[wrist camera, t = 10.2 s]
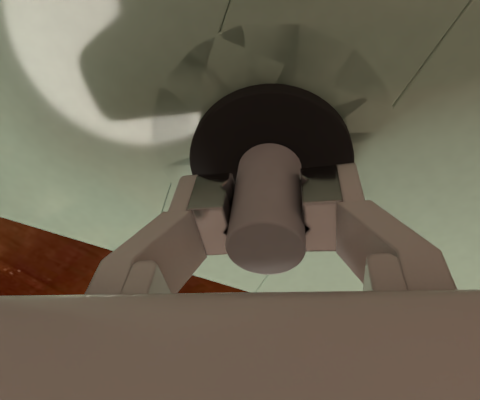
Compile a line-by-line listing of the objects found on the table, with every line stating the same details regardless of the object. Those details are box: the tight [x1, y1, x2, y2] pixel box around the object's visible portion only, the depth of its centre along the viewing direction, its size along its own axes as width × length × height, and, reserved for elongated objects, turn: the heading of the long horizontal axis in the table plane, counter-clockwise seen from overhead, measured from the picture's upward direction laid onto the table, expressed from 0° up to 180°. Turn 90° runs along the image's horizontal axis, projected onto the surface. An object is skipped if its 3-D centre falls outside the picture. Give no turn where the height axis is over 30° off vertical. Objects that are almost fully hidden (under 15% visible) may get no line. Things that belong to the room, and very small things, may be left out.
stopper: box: [189, 83, 354, 275], centre depth 11 cm, size 5×5×6 cm
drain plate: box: [0, 0, 480, 292], centre depth 13 cm, size 24×16×2 cm, turn 69°
